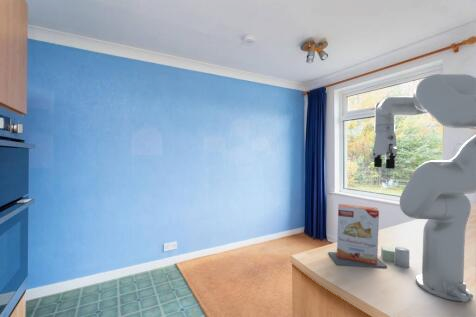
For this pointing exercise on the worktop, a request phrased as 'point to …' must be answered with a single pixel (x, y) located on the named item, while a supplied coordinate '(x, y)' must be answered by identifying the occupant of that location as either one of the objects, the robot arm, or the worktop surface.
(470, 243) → the worktop surface
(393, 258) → the sage block
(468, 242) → the worktop surface
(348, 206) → the cracker box
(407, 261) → the grey rounded capsule
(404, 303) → the worktop surface
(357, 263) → the mat
